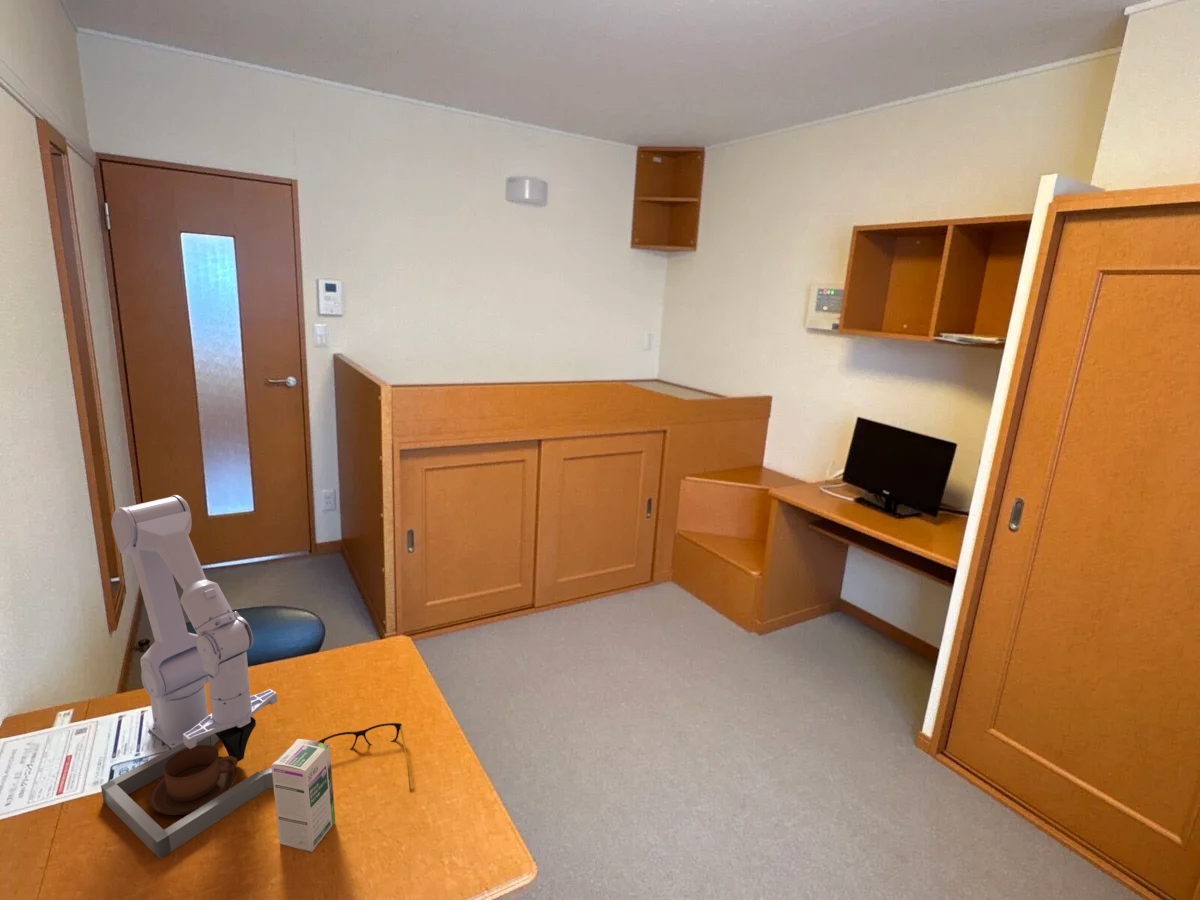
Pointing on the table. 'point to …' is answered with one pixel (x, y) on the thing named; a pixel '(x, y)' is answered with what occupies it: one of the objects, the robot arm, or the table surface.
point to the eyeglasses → (362, 732)
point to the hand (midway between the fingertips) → (236, 758)
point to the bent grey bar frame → (190, 824)
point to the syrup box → (303, 794)
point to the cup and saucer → (192, 780)
